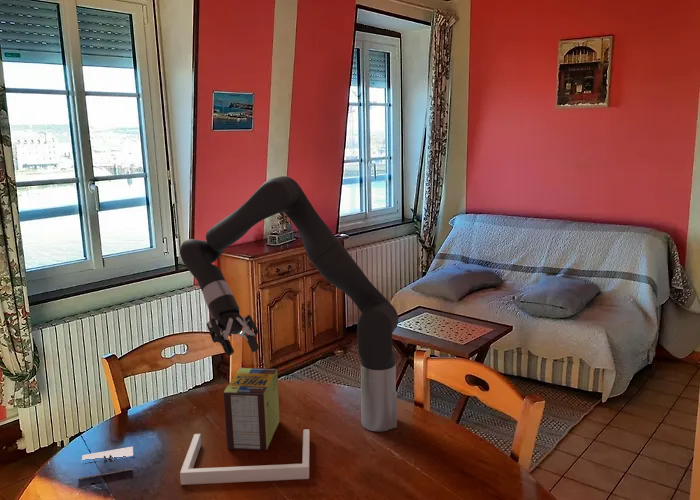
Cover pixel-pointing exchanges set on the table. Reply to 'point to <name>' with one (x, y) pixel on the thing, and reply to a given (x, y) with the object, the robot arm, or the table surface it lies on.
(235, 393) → the protein box
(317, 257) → the robot arm
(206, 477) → the u-shaped bracket
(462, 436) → the table surface
